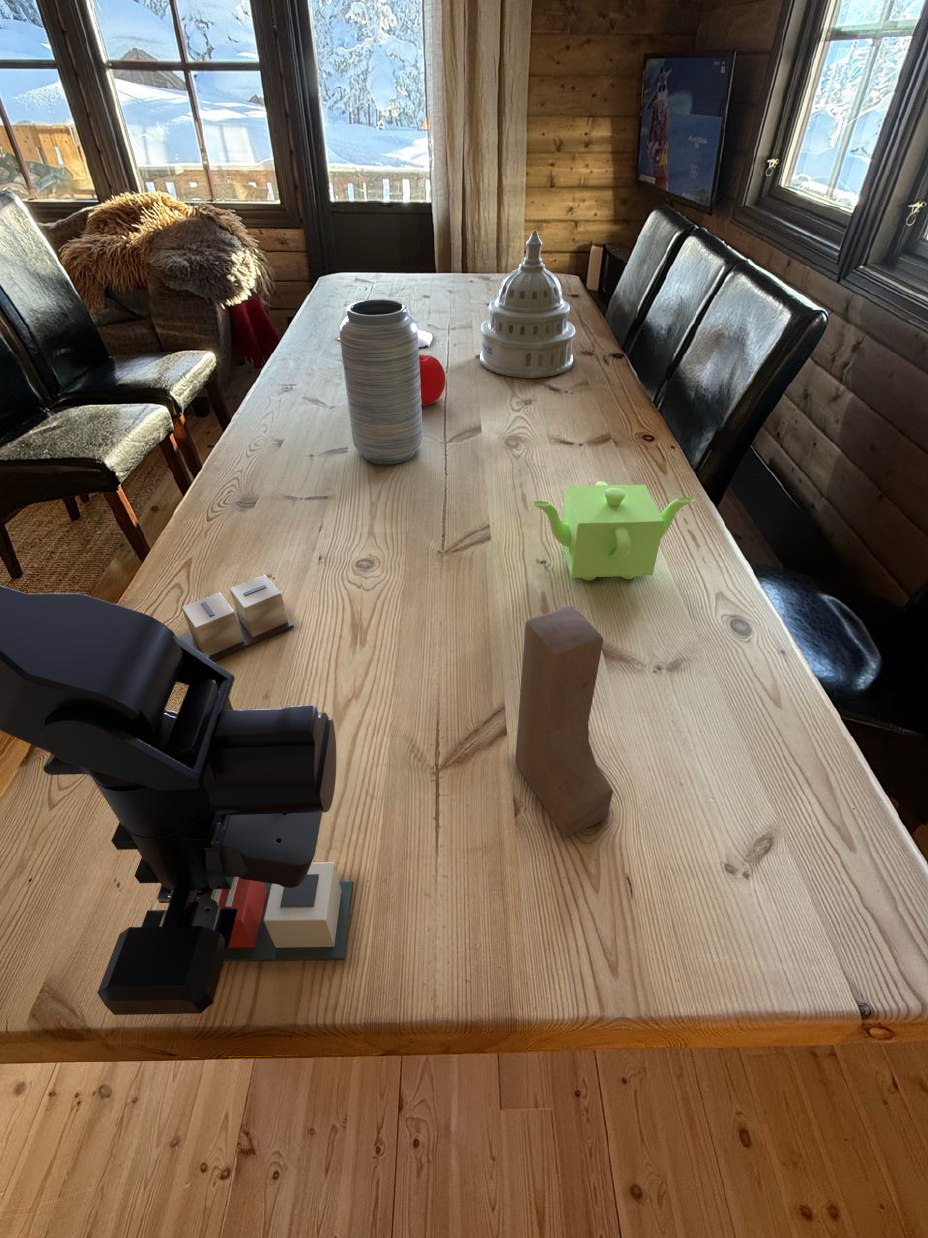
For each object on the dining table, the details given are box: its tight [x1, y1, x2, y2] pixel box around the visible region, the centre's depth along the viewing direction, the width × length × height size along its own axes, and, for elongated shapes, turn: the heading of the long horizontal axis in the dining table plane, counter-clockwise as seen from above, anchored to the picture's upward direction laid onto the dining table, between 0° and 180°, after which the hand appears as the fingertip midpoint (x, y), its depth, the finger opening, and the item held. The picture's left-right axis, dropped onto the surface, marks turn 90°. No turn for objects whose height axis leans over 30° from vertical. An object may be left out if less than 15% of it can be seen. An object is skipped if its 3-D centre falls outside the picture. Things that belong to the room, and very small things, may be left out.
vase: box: [338, 298, 424, 466], centre depth 103 cm, size 12×12×23 cm
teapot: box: [531, 481, 696, 581], centre depth 83 cm, size 15×13×11 cm
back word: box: [177, 574, 295, 663], centre depth 74 cm, size 16×6×5 cm, turn 127°
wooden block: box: [514, 605, 614, 838], centre depth 54 cm, size 9×4×18 cm, turn 26°
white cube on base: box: [223, 862, 354, 963], centre depth 49 cm, size 12×6×5 cm, turn 91°
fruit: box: [419, 354, 446, 407], centre depth 123 cm, size 9×9×10 cm
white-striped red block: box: [198, 877, 267, 948], centre depth 49 cm, size 4×4×4 cm
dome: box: [479, 229, 576, 379], centre depth 135 cm, size 20×25×20 cm
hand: (229, 914), depth 50 cm, fingers closed on white-striped red block, 4 cm apart
